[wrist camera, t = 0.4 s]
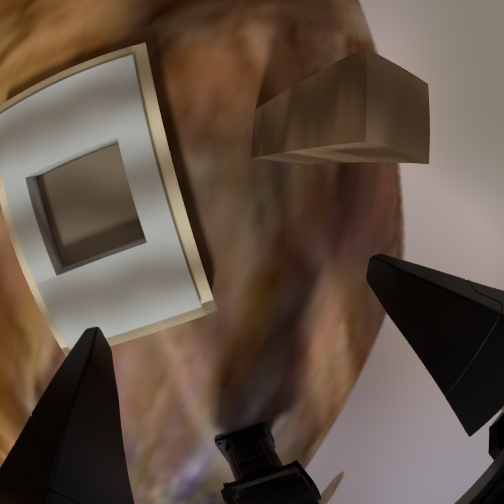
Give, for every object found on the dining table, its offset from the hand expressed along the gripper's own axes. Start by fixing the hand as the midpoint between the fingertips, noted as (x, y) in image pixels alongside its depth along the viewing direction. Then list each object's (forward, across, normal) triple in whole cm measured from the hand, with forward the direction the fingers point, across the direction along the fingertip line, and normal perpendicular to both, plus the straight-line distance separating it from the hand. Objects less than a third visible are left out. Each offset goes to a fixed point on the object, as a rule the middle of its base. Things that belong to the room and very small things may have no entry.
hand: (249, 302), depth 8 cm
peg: (+15, -8, -2) cm, 17 cm away
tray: (+14, +7, 0) cm, 16 cm away
